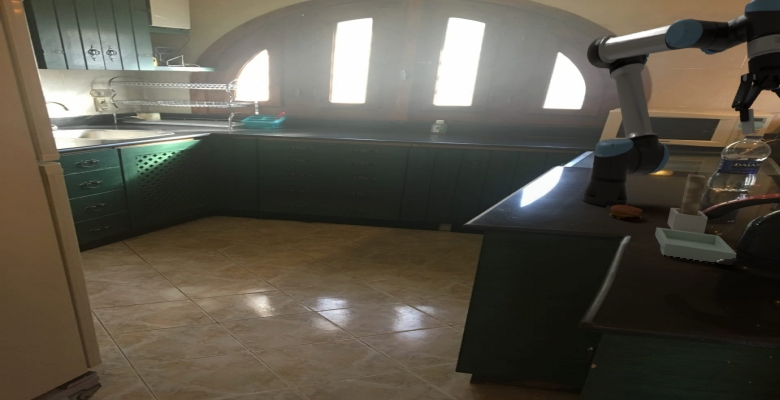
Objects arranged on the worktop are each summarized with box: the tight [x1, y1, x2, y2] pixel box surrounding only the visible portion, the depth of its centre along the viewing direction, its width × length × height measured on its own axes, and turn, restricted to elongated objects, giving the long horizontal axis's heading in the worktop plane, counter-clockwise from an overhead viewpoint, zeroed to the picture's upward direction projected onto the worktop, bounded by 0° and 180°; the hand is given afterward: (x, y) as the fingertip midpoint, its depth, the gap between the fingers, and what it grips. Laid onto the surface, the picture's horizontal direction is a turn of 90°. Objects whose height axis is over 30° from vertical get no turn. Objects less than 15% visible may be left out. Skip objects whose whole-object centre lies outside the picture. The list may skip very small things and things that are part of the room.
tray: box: [654, 226, 737, 262], centre depth 102 cm, size 14×14×3 cm
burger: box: [608, 205, 643, 222], centre depth 127 cm, size 10×9×5 cm
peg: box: [679, 173, 707, 216], centre depth 115 cm, size 4×4×16 cm
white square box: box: [667, 207, 708, 234], centre depth 117 cm, size 8×8×6 cm
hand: (771, 133), depth 107 cm, fingers open, 13 cm apart
